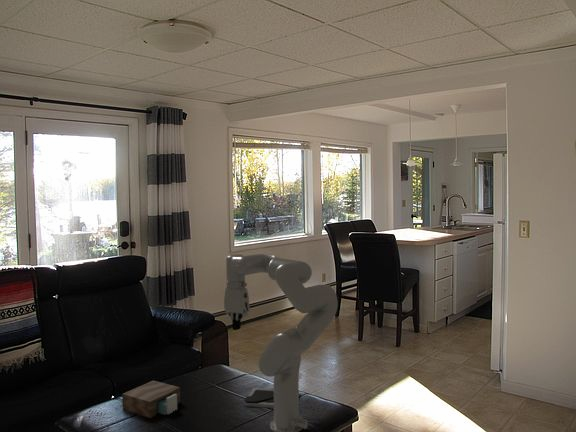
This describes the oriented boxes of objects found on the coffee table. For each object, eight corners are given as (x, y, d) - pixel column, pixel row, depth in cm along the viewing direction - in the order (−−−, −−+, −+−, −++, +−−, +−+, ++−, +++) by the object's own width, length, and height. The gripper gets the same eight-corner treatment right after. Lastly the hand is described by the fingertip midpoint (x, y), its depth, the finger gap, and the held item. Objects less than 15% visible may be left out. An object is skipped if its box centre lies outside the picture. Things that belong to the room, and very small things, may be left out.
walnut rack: (180, 402, 209) (179, 387, 208) (150, 418, 194) (149, 401, 194) (153, 394, 217) (153, 380, 217) (122, 409, 202) (122, 393, 202)
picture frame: (243, 407, 204) (292, 411, 200) (243, 400, 204) (292, 404, 200) (253, 392, 220) (299, 395, 216) (253, 386, 220) (298, 389, 216)
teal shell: (178, 408, 202) (178, 393, 202) (166, 415, 196) (166, 399, 196) (153, 401, 210) (152, 386, 210) (140, 407, 204) (140, 392, 204)
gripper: (256, 284, 199) (256, 329, 200) (227, 281, 207) (227, 324, 208) (245, 287, 193) (245, 333, 194) (215, 284, 201) (216, 329, 201)
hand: (236, 329), depth 201 cm, fingers closed
